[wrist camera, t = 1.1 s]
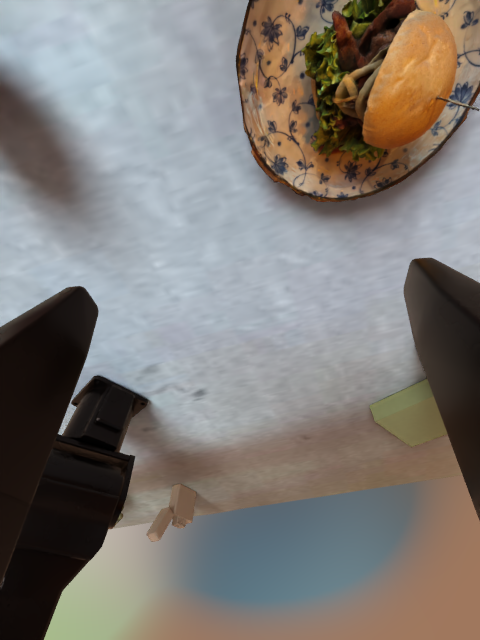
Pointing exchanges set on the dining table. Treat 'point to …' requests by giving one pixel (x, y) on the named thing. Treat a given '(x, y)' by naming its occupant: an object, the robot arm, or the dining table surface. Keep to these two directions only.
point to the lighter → (174, 512)
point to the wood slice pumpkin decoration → (354, 88)
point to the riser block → (410, 414)
